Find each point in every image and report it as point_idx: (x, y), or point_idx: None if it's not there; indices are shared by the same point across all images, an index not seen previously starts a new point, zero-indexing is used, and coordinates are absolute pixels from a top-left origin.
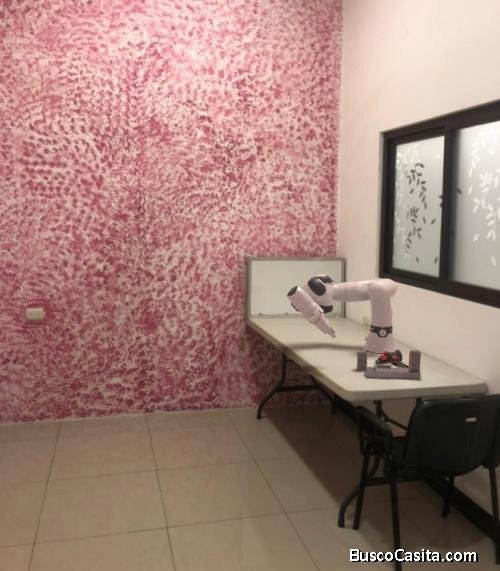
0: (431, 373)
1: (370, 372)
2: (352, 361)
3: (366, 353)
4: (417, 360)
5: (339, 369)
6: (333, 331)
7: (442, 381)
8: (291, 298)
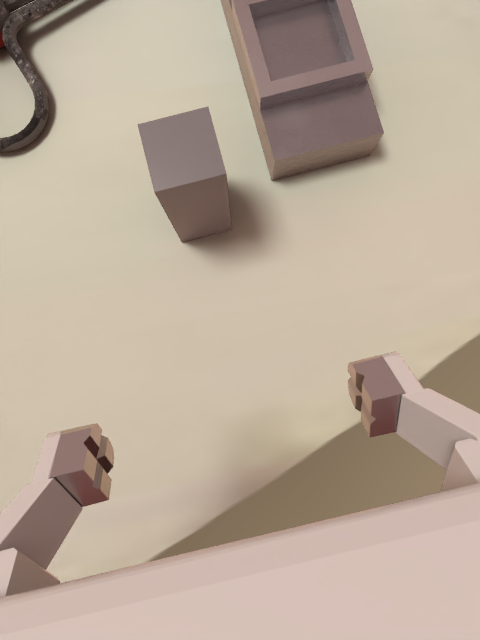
0: None
1: (375, 118)
2: (11, 294)
3: (208, 113)
4: None
5: (243, 338)
6: (92, 452)
7: None
8: None
